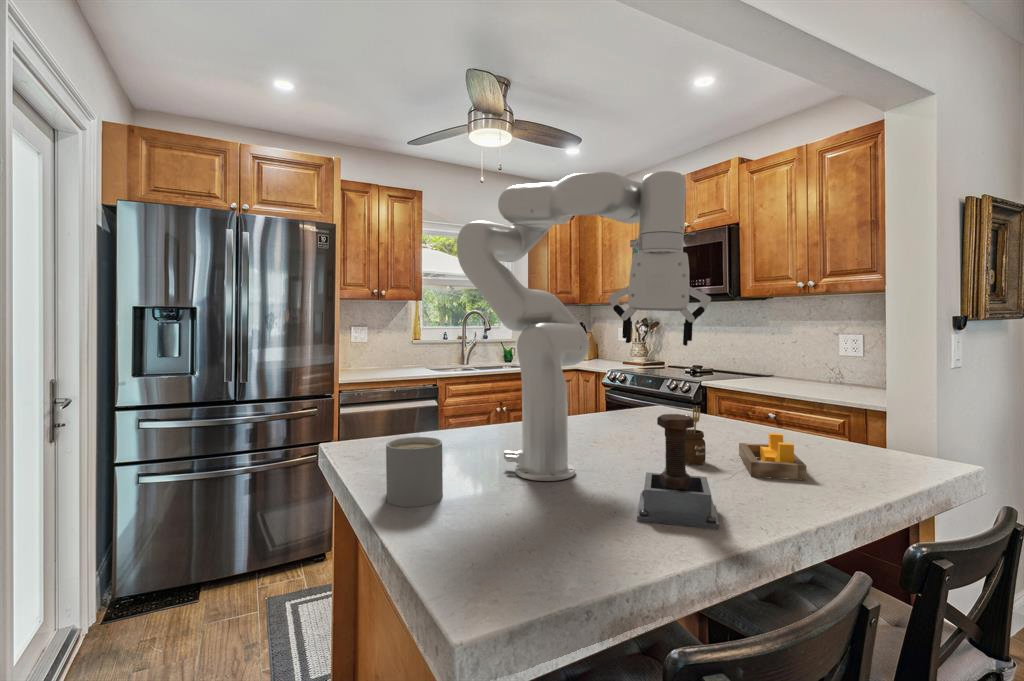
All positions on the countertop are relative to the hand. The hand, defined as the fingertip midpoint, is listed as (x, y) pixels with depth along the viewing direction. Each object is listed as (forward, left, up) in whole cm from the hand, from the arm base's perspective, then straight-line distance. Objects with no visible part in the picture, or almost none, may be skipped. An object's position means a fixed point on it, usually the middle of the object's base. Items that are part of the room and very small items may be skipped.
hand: (656, 343), depth 89 cm
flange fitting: (+3, -2, -28) cm, 28 cm away
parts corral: (+23, +29, -28) cm, 46 cm away
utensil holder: (+7, +29, -28) cm, 41 cm away
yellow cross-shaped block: (+25, +29, -28) cm, 47 cm away
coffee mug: (-43, -10, -28) cm, 52 cm away
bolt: (+3, -5, -27) cm, 28 cm away
